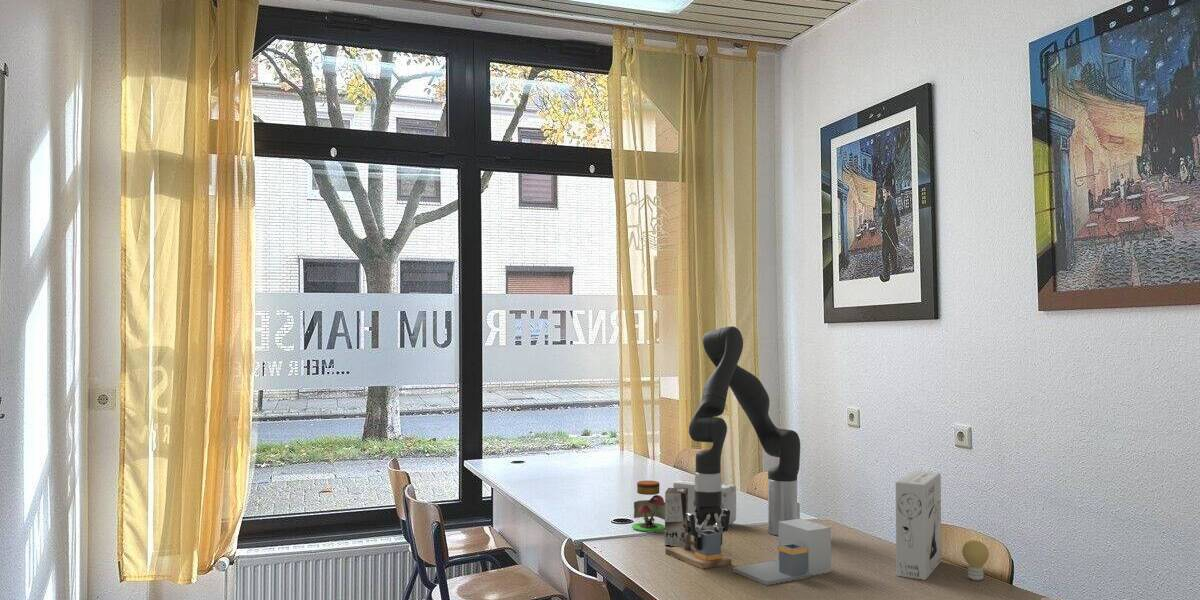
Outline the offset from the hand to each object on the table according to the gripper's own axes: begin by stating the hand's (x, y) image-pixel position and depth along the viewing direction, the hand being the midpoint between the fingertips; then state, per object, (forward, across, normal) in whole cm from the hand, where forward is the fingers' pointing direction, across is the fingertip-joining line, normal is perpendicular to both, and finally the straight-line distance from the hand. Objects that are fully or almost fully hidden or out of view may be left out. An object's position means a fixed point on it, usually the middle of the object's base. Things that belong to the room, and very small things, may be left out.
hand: (708, 548), depth 241 cm
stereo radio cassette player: (+4, -29, -42) cm, 51 cm away
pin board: (+4, 0, -5) cm, 6 cm away
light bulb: (+4, -53, +46) cm, 70 cm away
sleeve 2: (+3, -12, +21) cm, 25 cm away
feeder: (+4, -12, +17) cm, 21 cm away
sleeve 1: (+3, 0, 0) cm, 3 cm away
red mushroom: (+4, -8, -43) cm, 44 cm away
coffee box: (+4, -5, -23) cm, 24 cm away
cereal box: (+4, -48, +32) cm, 58 cm away
